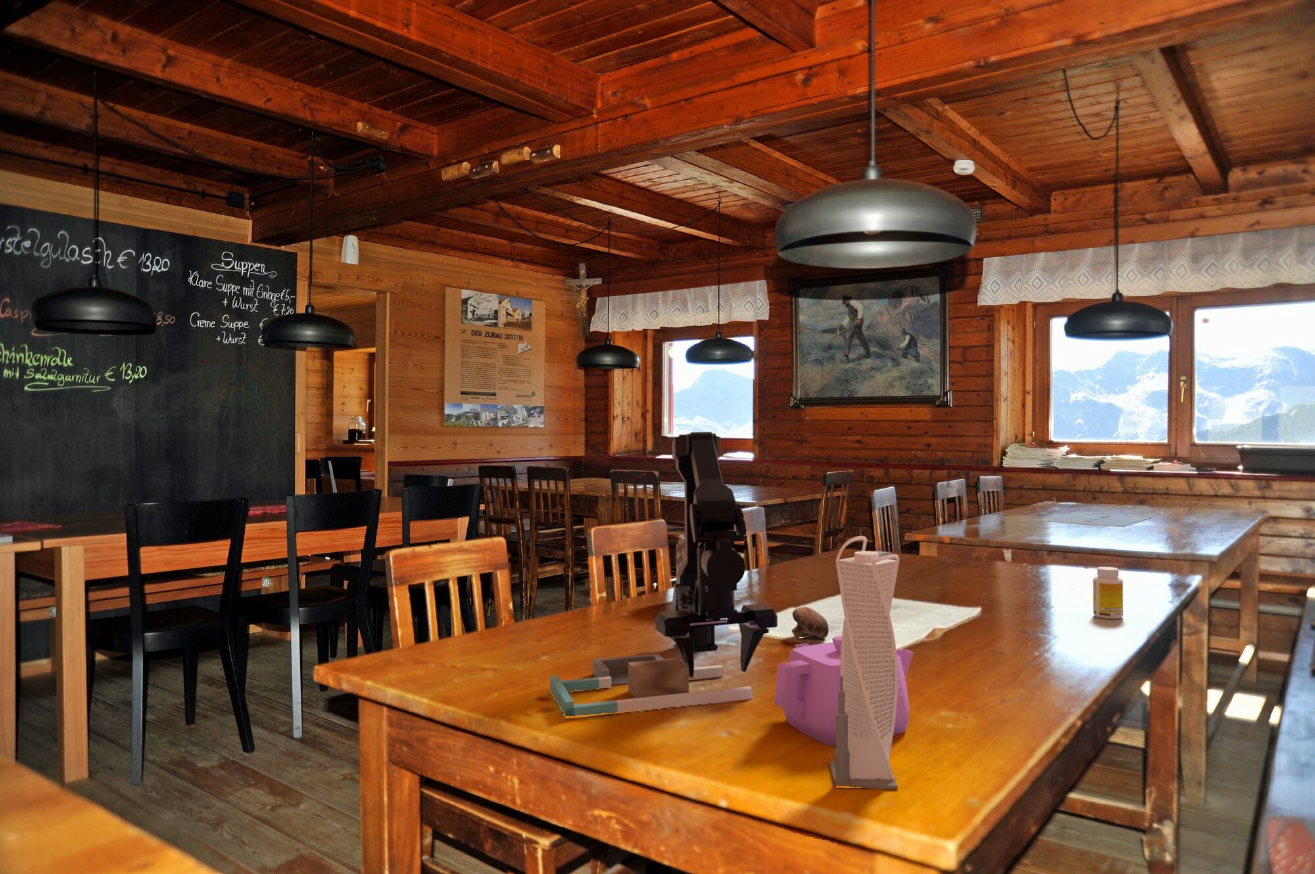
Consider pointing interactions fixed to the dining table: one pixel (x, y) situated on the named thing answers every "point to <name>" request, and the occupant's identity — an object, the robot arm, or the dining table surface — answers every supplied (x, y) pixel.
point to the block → (657, 678)
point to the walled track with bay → (617, 673)
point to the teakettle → (825, 689)
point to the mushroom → (809, 623)
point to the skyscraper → (866, 671)
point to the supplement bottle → (1108, 594)
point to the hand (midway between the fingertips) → (717, 673)
